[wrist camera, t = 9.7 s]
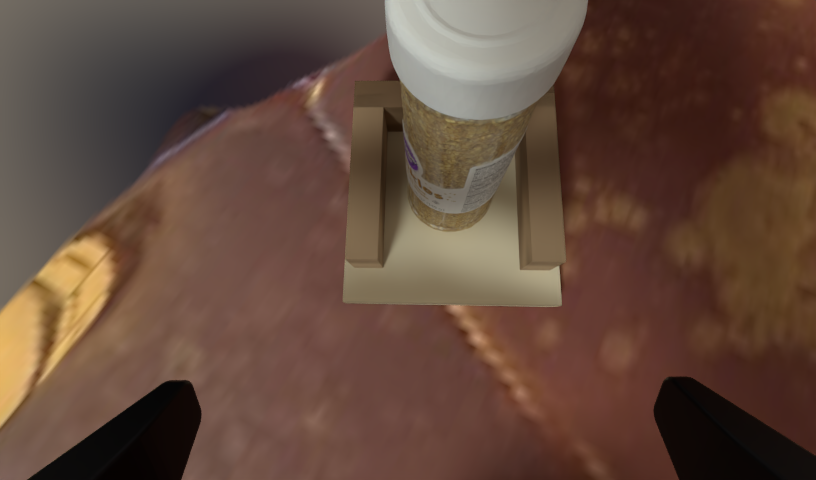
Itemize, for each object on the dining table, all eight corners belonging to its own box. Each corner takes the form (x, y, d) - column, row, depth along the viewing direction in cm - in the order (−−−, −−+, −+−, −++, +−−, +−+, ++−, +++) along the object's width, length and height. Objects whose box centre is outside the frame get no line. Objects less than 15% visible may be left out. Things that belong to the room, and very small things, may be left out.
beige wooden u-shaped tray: (555, 306, 21) (580, 301, 18) (346, 303, 22) (331, 297, 18) (542, 101, 24) (562, 62, 21) (357, 102, 24) (346, 64, 21)
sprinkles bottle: (391, 184, 22) (341, -37, 9) (459, 139, 23) (506, -133, 9) (440, 252, 21) (464, 113, 8) (510, 203, 22) (642, -2, 8)
